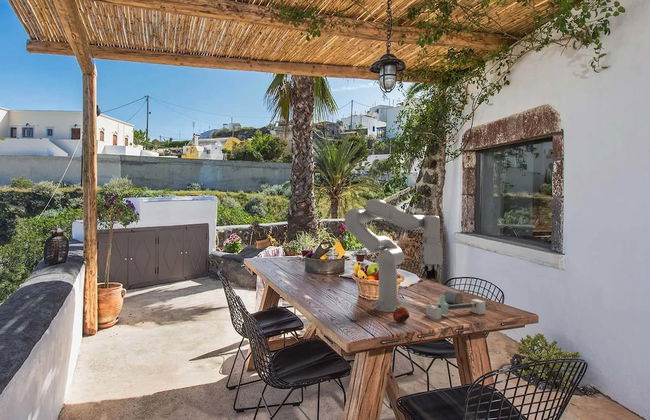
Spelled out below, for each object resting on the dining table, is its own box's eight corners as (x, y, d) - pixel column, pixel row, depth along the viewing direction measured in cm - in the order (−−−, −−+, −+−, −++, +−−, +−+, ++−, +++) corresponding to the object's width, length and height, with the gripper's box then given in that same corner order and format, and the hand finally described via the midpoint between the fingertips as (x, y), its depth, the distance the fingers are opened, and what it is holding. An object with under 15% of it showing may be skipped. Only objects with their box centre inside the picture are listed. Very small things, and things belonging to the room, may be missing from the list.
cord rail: (436, 319, 186) (436, 306, 186) (426, 314, 194) (426, 302, 194) (486, 314, 197) (486, 301, 197) (475, 309, 204) (475, 298, 204)
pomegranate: (411, 328, 180) (403, 310, 188) (414, 318, 176) (406, 301, 183) (396, 330, 179) (389, 312, 186) (398, 321, 174) (391, 303, 182)
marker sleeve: (441, 314, 190) (441, 297, 190) (436, 311, 194) (436, 295, 194) (448, 313, 191) (448, 296, 191) (442, 311, 195) (443, 294, 195)
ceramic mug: (456, 306, 212) (456, 292, 212) (443, 303, 218) (443, 289, 218) (466, 303, 218) (467, 289, 218) (454, 300, 225) (454, 287, 224)
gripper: (422, 242, 183) (421, 280, 184) (449, 241, 189) (449, 279, 189) (413, 240, 190) (412, 278, 191) (440, 239, 196) (439, 276, 196)
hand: (430, 278), depth 190 cm, fingers closed
